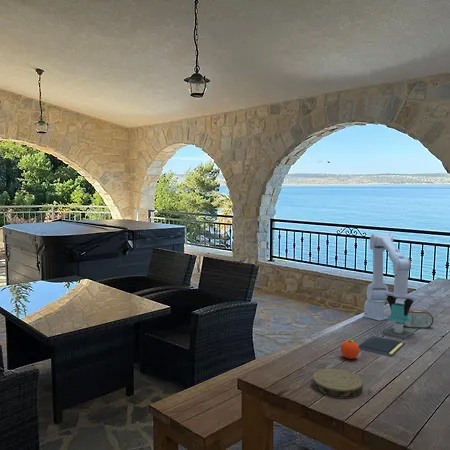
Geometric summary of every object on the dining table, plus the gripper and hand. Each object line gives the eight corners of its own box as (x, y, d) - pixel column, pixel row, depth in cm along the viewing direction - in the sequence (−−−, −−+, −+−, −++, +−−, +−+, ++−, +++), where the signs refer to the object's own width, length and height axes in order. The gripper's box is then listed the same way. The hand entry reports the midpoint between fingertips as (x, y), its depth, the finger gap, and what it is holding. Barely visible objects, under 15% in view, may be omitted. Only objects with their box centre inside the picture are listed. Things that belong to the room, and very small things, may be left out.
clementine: (347, 352, 170) (348, 335, 169) (363, 357, 165) (364, 339, 164) (336, 357, 164) (337, 339, 164) (353, 363, 159) (354, 344, 159)
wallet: (372, 333, 191) (407, 341, 181) (372, 337, 191) (407, 345, 181) (354, 344, 176) (391, 354, 166) (354, 349, 176) (391, 358, 166)
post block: (382, 333, 195) (383, 323, 194) (392, 329, 202) (393, 318, 201) (404, 339, 187) (405, 328, 187) (413, 334, 194) (414, 323, 194)
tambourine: (332, 402, 129) (333, 393, 129) (303, 381, 144) (303, 372, 143) (373, 393, 135) (373, 384, 135) (341, 374, 150) (341, 366, 150)
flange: (386, 319, 194) (387, 304, 193) (394, 315, 200) (394, 301, 199) (404, 323, 188) (405, 308, 188) (411, 319, 194) (412, 304, 194)
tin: (431, 327, 206) (432, 310, 206) (433, 329, 203) (434, 311, 202) (399, 325, 208) (400, 308, 207) (401, 327, 204) (402, 310, 204)
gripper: (381, 283, 195) (380, 312, 196) (413, 288, 185) (412, 319, 186) (388, 281, 200) (386, 309, 201) (419, 286, 190) (418, 316, 191)
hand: (399, 313), depth 194 cm, fingers closed on flange, 5 cm apart
